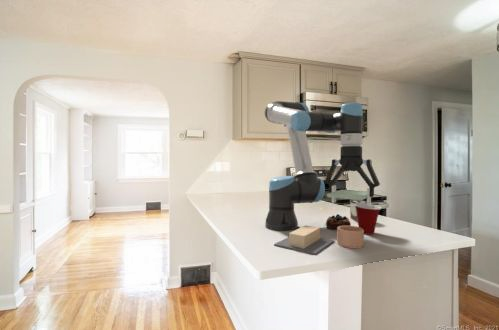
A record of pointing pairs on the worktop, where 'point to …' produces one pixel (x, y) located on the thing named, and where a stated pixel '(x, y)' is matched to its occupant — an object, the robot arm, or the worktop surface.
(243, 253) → the worktop surface
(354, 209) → the food container
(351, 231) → the bowl
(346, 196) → the sheet
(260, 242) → the worktop surface
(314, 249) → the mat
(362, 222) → the plastic cup
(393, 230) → the worktop surface
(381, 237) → the worktop surface
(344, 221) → the pastry
